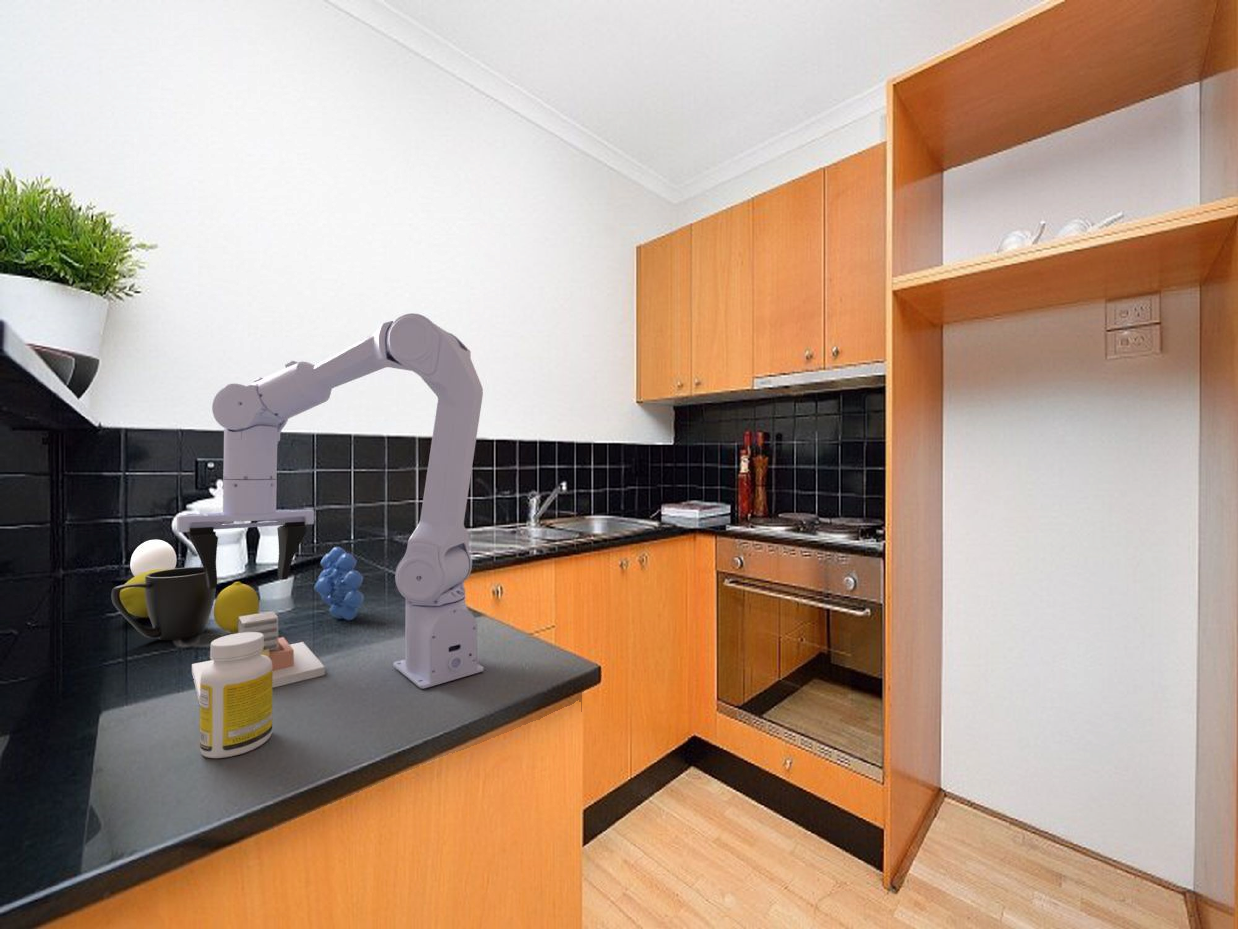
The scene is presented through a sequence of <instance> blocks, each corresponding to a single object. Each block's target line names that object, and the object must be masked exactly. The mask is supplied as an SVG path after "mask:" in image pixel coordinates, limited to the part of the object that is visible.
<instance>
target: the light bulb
mask: <svg viewBox="0 0 1238 929" xmlns="http://www.w3.org/2000/svg"><path fill="white" fill-rule="evenodd" d="M177 560H178V559H177V554H176V551H175V549H174V548H173V546H172V545H171V544H169V543H168V542H166V541H164V540H161V539H150V540H146V541H144V542H143V543H141V544H140V545H138V546H137V547H136V548H135V550H134V551H133V553H132V554H131V558H130V562H129V563H130V564H129V566H130V570H131V573H132V575H133V577H135V576H137V575H139V574H142V573H144V572H148V571H152V570H158V569H176V565H177Z"/></svg>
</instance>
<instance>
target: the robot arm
mask: <svg viewBox="0 0 1238 929" xmlns="http://www.w3.org/2000/svg"><path fill="white" fill-rule="evenodd" d="M284 366H285V368H284V369H282V370H279V371H277V372H275V373H273V374H270V375H268V376H266V377H258V378H256V379H254V380H253V383H251V384H248V385H245V384H239V383H229V384H227V385H226V386H224V387H223V388H221V389H220V390H219V391H218V392H217V393H216V395H215V396H214V399H213V402H212V407H211V408H212V415H213V417H214V419H215V421H216V423H217V424H218V425H219V426H220V427H223V470H222V471H223V473H222V474H223V475H222V476H223V478H222V479H223V481H222V482H223V484H222V487H223V488H222V512H211V513H210V512H209V513H208V512H207V513H199V514H198V513H196V514H195V513H194V514H183V515H182V514H180V515H179V514H178V515H176V532H177V533H186V535H187V537H188V538H189V541H190V542H191V544H192V545H193V547H194V549H195V551H196V553H197V555H198V557H199V560H200V562H201V565H202V567H203V568H204V571H205V575H206V580H207V587H208V588H209V589H214V588H216V589H217V587H218V572H217V553H218V552H217V551H218V542H219V537H218V536H217V535H216V534H217V532H216V530H227V529H228V530H229V529H243V528H259V527H262V528H263V527H275V526H276V527H277V526H278V527H277V529H276V530H277V538H278V541H277V542H278V559H277V560H278V561H277V578H278V579H280V580H282V581H284V580H288V578H289V574H290V573H289V572H290V569H291V566H292V563H293V560H294V557H295V554H296V552H297V551H298V549H299V546H300V545H301V542H302V540H303V539H304V538H305V536H306V534H307V531H308V527H307V526H306V525H314V524H315V523H314V522H315V510H313V509H285V510H284V509H281V510H279V509H278V510H277V490H278V489H277V488H278V486H277V485H278V484H277V480H278V479H277V475H278V474H277V471H278V466H277V465H278V444H279V442H281V432H282V430H283V428H285V426H286V425H287V423H288V421H289V419H291V418H293V417H295V416H297V415H300V414H302V413H304V412H307V411H308V410H311V409H313V408H315V407H317V406H319V405H321V404H323V403H326V402H328V400H330V398H331V393H332V389H334V388H336V387H339V386H342V385H345V384H347V383H349V382H352V381H355V380H357V379H360V378H362V377H365V376H367V375H371V374H373V373H375V372H377V371H380V370H383V369H386V368H392V369H396V370H403V371H409V372H413V373H415V374H416V375H417V376H419V377H420V378H421V379H422V380H423V381H424V383H425V384H426V385H427V386H428V387H429V389H431V391H432V392H433V393H434V394H435V396H436V397H437V404H436V405H437V406H436V412H435V416H434V417H435V418H434V424H433V433H432V437H431V444H430V449H429V450H430V452H429V459H428V465H427V469H426V470H427V472H426V478H425V486H424V493H423V496H422V497H423V499H422V507H421V512H420V519H419V523H418V524H417V526H416V528H415V529H414V530H413V532H412V534H411V535H410V537H409V539H408V541H407V545H406V546H407V547H406V551H405V553H404V556H403V557H402V558H401V559H400V561H399V563H398V564H397V566H396V570H395V573H394V575H395V576H394V578H395V579H394V581H395V585H396V588H397V590H398V592H399V593H400V595H401V596H402V597H403V598H405V609H404V610H405V614H404V615H405V616H404V617H405V624H404V626H405V627H404V631H405V633H404V635H405V636H404V637H405V638H404V641H405V642H404V644H405V645H404V648H405V649H404V650H405V651H404V654H405V655H404V658H405V659H400V660H397V661H395V662H393V664H392V665H393V667H394V668H395V669H396V670H397V671H399V672H400V673H401V674H402V675H403V676H405V677H406V678H408V680H410V681H411V682H412V683H413V684H414V685H416V687H418V688H420V689H427V688H431V687H434V686H438V685H441V684H445V683H448V682H450V681H455V680H458V679H461V678H464V677H468V676H472V675H475V674H478V673H482V672H483V671H484V666H483V665H481V664H479V663H478V624H477V620H476V618H475V615H474V614H473V613H472V612H471V611H470V610H469V608H468V607H467V605H466V604H467V603H466V589H465V585H464V582H465V581H467V579H468V578H469V577H470V575H471V572H472V567H473V561H472V557H471V553H470V549H469V542H470V535H469V533H468V531H467V529H466V527H465V524H464V523H465V517H466V516H465V515H466V510H467V505H468V504H467V502H468V497H469V489H470V483H471V477H472V476H471V475H472V471H473V462H474V456H475V450H476V442H477V436H478V430H479V423H480V416H481V410H482V404H483V396H484V392H483V390H484V388H483V386H482V383H481V381H480V377H479V375H478V373H477V370H476V369H475V366H474V364H473V361H472V359H471V350H470V349H469V348H468V347H467V346H466V345H465V344H464V342H462V341H461V339H459V338H458V337H457V336H456V335H454V334H453V333H450V332H448V331H447V330H445V329H443V328H442V327H440V326H438V325H437V324H436V323H434V322H433V321H431V320H430V318H428V317H426V316H425V315H422V314H420V313H414V312H413V313H406V314H403V315H400V316H399V317H397V318H396V319H395V320H394V321H393V320H390V321H387V322H384V323H383V322H382V324H380V326H379V327H378V328H377V330H376V331H375V332H374V333H372V334H371V335H369V336H367V337H364V338H363V339H361V340H359V341H357V342H356V343H354V344H352V345H350V346H349V347H347V348H345V349H343V350H342V351H340V352H337V353H335V354H334V355H332V356H330V357H328V358H326V359H325V360H322V361H320V362H318V363H317V364H313V363H310V362H307V361H295V360H290V361H289V362H286V363H284ZM256 521H264V522H256ZM235 522H243V523H235ZM244 522H245V523H244ZM246 522H249V523H246ZM214 530H215V531H214Z"/></svg>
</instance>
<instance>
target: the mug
mask: <svg viewBox="0 0 1238 929" xmlns="http://www.w3.org/2000/svg"><path fill="white" fill-rule="evenodd" d="M128 587H141V588H145V599H146V606H147V610H148V614H149V617H150V618H149V620H150V621H149V622H150V623H151V626H152V627H146V626H144V625H142V624H141V623H139V622H138V621H137V620H136V619H135V618H134V617H133V616H132V614H130V613H128V611H127V610H126V609H125V608H124V606H123V604H122V602H121V600H120V591H121V590H122V589H124V588H128ZM216 589H217V588H214V589H209V588H208V587H207V580H206V575H205V571H204V568H203V566H191V567H187V566H185V567H178V568H177V567H175V569H169V570H163V571H157V572H153V573H150V574H148V575H146V577H145V583H137V584H126V585H124V584H120V585H118V586H115V587H113V588H112V590H111V595H110V597H111V602H112V604H113V606H114V607H115V609H116V610H117V611H118V612H119V613H120V614H121V615H122V616H123V617H124V619H125V620H126V621H128V623H129V624H130V625H131V626H132V627H133V628H134V629H135V630H136V631H137V632H139V633H140V634H141V635H142V636H144V637H146V638H148V639H158V640H160V641H174V640H182V639H187V638H192V637H195V636H198V635H201V634H203V633H204V632H205V631H206V627H207V623H208V621H209V619H210V615H211V613H212V609H213V607H214V603H215V598H216Z"/></svg>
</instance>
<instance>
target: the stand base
mask: <svg viewBox="0 0 1238 929" xmlns="http://www.w3.org/2000/svg"><path fill="white" fill-rule="evenodd" d="M261 654H262V655H265V656H267V657H269V658H270V659H271V661H272V672H273V686H272V689H273V688H277V687H280V686H281V687H282V686H285V685H289V684H294V683H298V682H301V681H305V680H310V679H314V678H318V677H322V676H325V673H326V667H325V665H324V664H323V663H322V662H321V660H320V659H319V658H318V657H317V656H316V655H315V654H314V652H313V651H311V650H310V648H309V647H308V646H307V645H306V644H305V642H304V641H301V642H296V643H291V644H289V643H288V641H287V640H286V639H285V637H284V636H281V637H278V651H277V652H272V653H269V650H268V649H267V650H263V651H262V652H261ZM212 663H214V660H212V659H210V660H206V661H202V662H201V661H200V662H196V663H192V664H191V675H192V678H193V679H194V680H193V683H194V687H195V692H197V693H196V697H197V702H198V701H199V702H198V705H200V680H201V674H202V672H203V671H204V669H205V668H206V667H208V666H209V665H211V664H212Z"/></svg>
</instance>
